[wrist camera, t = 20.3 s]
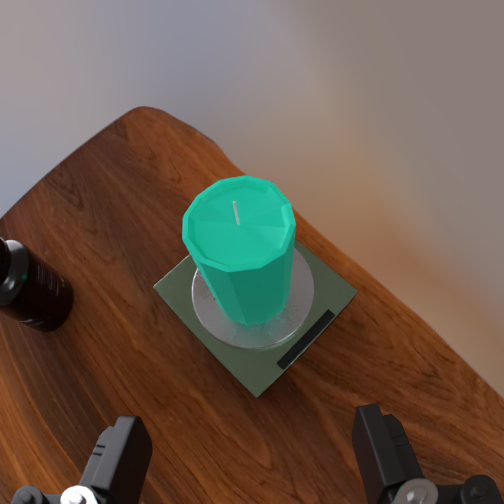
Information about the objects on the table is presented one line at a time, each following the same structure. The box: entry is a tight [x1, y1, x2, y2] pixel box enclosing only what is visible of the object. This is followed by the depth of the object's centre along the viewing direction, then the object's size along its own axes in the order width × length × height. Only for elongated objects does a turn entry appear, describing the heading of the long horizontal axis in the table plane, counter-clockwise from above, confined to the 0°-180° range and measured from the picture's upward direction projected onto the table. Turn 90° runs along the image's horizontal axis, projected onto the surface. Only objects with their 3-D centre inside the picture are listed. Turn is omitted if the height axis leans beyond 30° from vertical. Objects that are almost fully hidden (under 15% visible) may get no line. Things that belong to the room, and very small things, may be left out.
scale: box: [153, 239, 358, 398], centre depth 28 cm, size 13×12×3 cm
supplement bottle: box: [0, 238, 73, 332], centre depth 25 cm, size 7×7×12 cm
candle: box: [182, 176, 296, 325], centre depth 21 cm, size 6×6×12 cm
